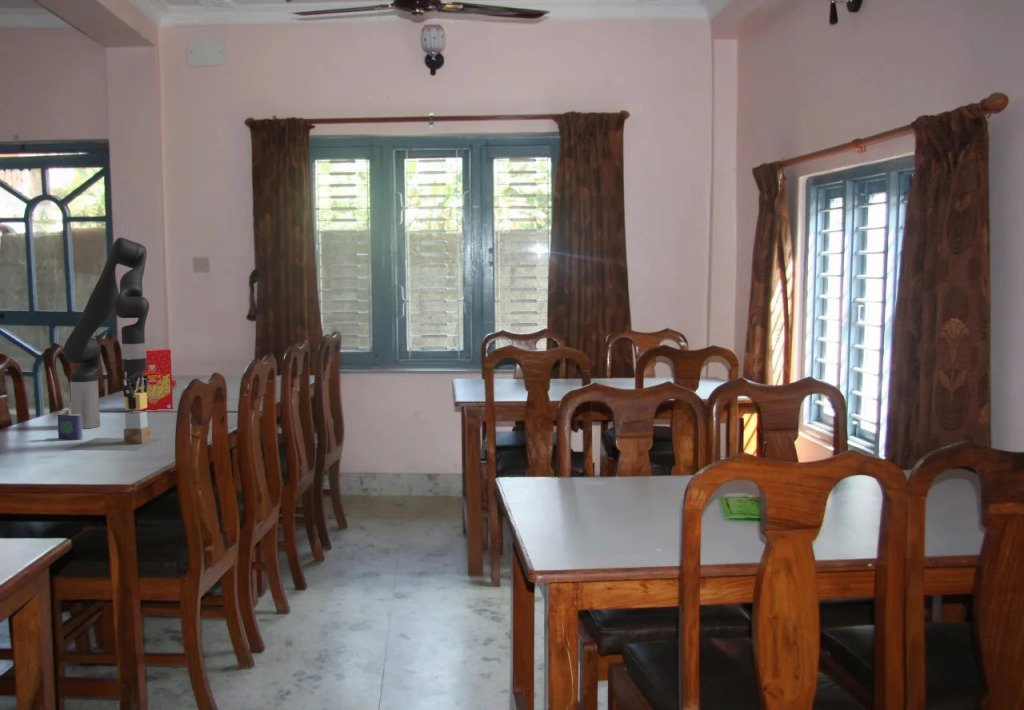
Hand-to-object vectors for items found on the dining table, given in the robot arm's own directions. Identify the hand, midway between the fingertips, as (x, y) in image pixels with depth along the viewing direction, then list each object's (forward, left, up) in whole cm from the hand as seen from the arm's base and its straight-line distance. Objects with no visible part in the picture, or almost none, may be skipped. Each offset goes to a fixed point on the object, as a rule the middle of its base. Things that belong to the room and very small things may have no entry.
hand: (136, 407), depth 291 cm
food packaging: (-27, +69, -12) cm, 75 cm away
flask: (-26, +5, -12) cm, 29 cm away
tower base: (0, 0, -12) cm, 12 cm away
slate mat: (-6, -3, -12) cm, 14 cm away
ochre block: (0, 0, 0) cm, 0 cm away
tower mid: (0, 0, -7) cm, 7 cm away
